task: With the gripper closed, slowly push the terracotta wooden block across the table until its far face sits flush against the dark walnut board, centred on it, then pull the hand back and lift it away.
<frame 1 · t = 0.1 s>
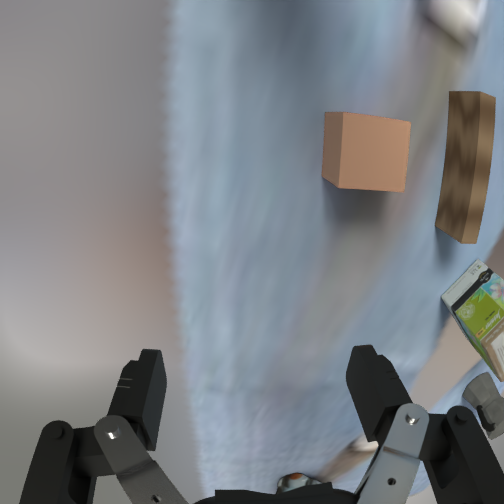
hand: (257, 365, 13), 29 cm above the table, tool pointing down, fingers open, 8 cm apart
terracotta block: (353, 146, 37), on the table
coffeepot: (474, 384, 60), on the table
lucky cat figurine: (300, 479, 70), on the table
walnut board: (452, 160, 38), on the table
tea box: (470, 299, 49), on the table
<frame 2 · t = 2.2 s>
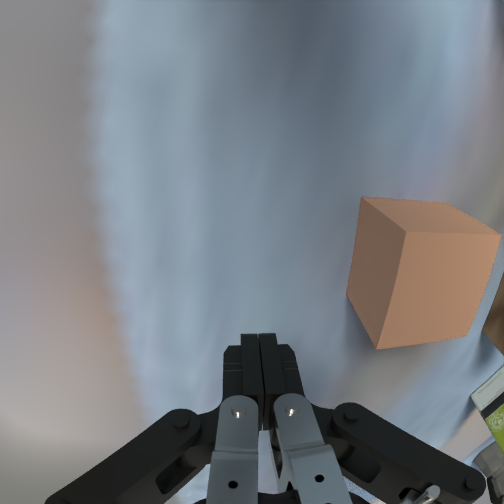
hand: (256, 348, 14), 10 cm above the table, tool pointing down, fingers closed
terracotta block: (398, 248, 24), on the table
coffeepot: (486, 449, 47), on the table
tea box: (500, 388, 35), on the table
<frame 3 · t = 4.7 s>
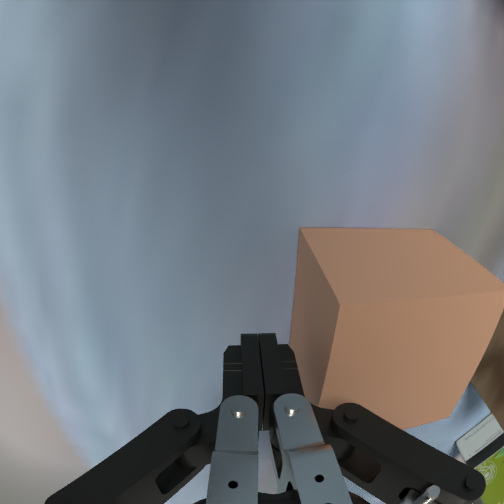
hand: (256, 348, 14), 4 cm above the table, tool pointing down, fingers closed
terracotta block: (361, 294, 18), on the table, touching gripper
tea box: (493, 428, 29), on the table
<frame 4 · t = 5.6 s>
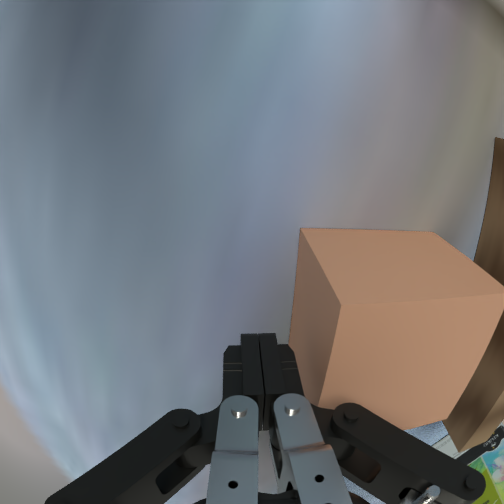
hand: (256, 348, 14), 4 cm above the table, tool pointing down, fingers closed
terracotta block: (361, 295, 18), on the table, touching gripper
walnut board: (480, 284, 18), on the table
tea box: (467, 439, 29), on the table
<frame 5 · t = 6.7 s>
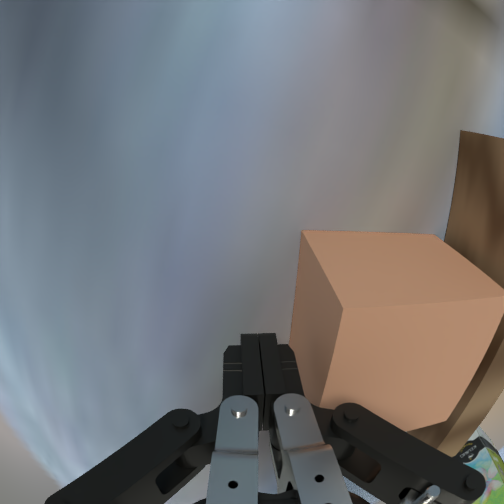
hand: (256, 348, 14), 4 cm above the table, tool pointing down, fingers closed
terracotta block: (361, 297, 18), on the table, touching gripper
walnut board: (448, 290, 18), on the table
tea box: (447, 448, 29), on the table
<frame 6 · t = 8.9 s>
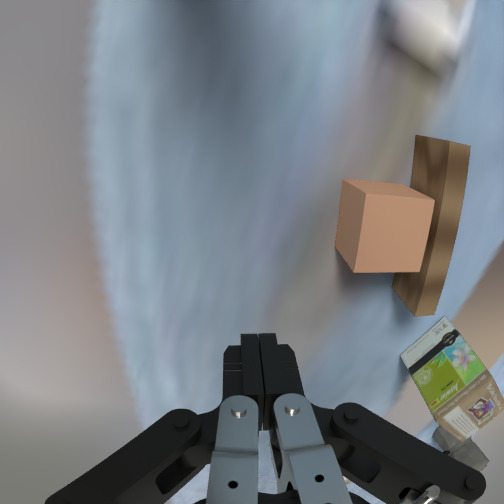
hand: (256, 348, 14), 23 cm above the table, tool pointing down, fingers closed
terracotta block: (370, 214, 36), on the table
coffeepot: (445, 426, 58), on the table
walnut board: (415, 216, 36), on the table
tea box: (436, 354, 47), on the table
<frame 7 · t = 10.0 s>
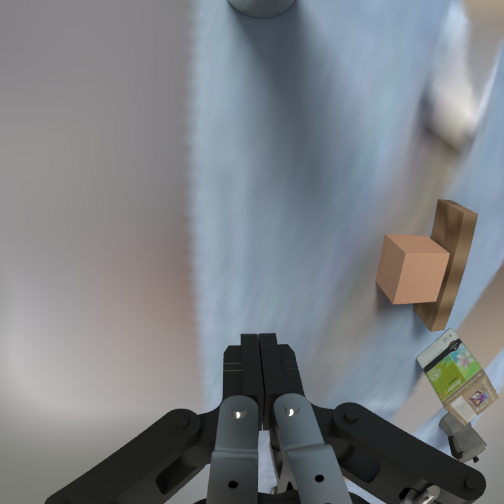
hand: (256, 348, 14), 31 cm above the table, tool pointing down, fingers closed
terracotta block: (401, 258, 48), on the table
coffeepot: (449, 416, 70), on the table
walnut board: (433, 257, 48), on the table
tea box: (443, 356, 58), on the table
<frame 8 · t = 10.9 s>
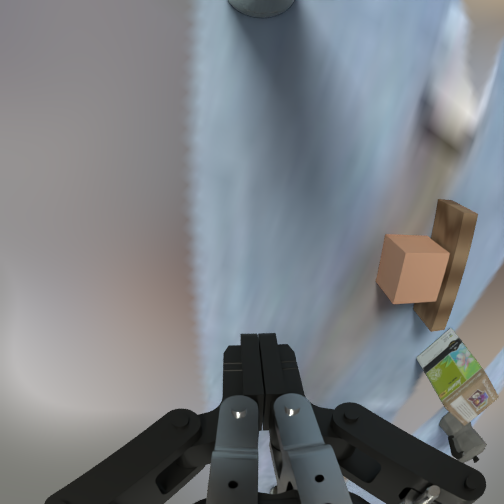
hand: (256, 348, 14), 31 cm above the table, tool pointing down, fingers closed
terracotta block: (401, 258, 48), on the table
coffeepot: (449, 415, 70), on the table
walnut board: (433, 257, 48), on the table
tea box: (443, 356, 58), on the table
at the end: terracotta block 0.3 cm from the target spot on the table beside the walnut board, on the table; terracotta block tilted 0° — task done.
